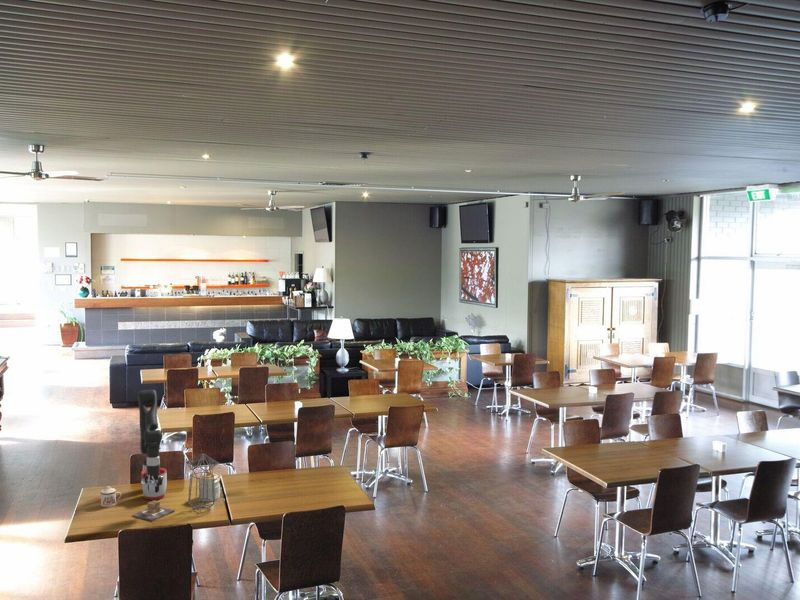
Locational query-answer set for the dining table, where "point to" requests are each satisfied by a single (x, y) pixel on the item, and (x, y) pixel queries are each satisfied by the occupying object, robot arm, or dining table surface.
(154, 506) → the walnut block
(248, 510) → the dining table surface
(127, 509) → the dining table surface
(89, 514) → the dining table surface
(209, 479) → the jar
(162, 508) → the building board
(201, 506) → the geometric lantern
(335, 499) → the dining table surface
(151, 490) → the pale blue rounded ovoid
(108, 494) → the teacup with lid
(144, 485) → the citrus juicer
